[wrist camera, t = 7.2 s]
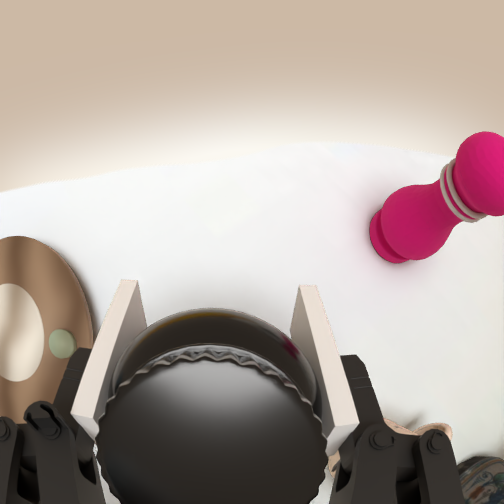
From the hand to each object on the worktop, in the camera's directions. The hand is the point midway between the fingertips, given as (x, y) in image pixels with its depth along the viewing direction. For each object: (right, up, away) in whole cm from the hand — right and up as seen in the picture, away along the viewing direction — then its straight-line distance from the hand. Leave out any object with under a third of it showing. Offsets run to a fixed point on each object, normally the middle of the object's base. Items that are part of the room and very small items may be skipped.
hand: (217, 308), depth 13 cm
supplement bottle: (0, -4, +3) cm, 6 cm away
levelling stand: (-23, -6, +13) cm, 27 cm away
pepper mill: (+17, +4, +18) cm, 25 cm away
